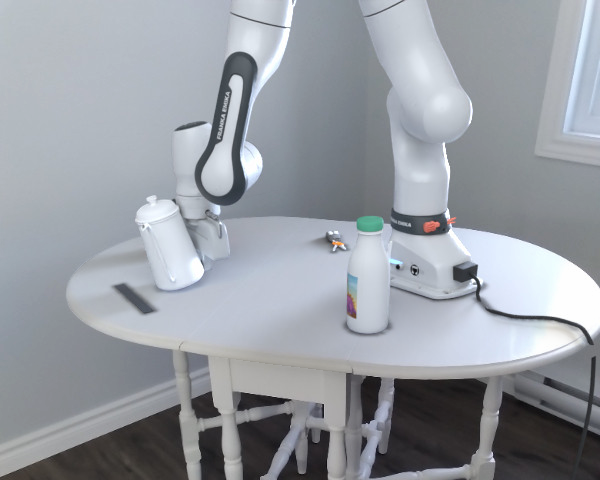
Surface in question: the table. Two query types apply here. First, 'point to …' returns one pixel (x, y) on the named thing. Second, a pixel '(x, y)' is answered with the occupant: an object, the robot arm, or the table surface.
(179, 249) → the coffeepot
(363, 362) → the table surface
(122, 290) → the tape line
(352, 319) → the milk bottle
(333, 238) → the key chain
